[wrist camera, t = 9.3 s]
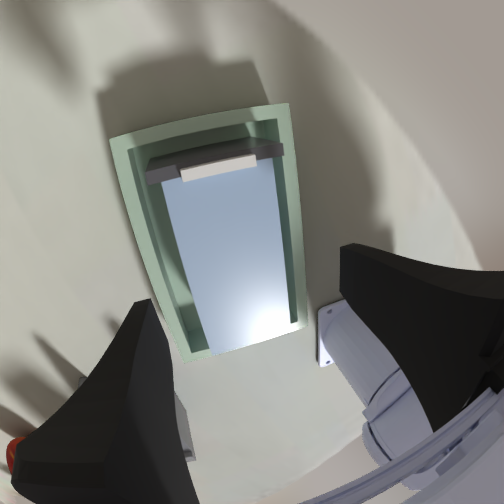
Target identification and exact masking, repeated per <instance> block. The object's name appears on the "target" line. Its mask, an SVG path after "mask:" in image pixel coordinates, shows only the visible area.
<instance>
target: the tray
mask: <svg viewBox="0 0 504 504" xmlns="http://www.w3.org/2000/svg"><path fill="white" fill-rule="evenodd" d="M245 137H256V138H262V139H267V140H271V141H276V142H281V143H283V147H284V156H279V157H274V158H272V160H273V167H274V175H275V183H276V191H277V199H278V208H279V216H280V225H281V234H282V243H283V252H284V262H285V271H286V281H287V292H288V302H289V313H290V324H291V332H292V331H295V330H298V329H301V328H304V327H306V326H308V312H307V291H306V273H305V257H304V243H303V230H302V217H301V206H300V195H299V185H298V175H297V165H296V156H295V148H294V139H293V131H292V123H291V115H290V108H289V103H282V104H272V105H264V106H256V107H248V108H241V109H235V110H229V111H223V112H217V113H211V114H206V115H201V116H196V117H191V118H186V119H182V120H177V121H173V122H169V123H165V124H161V125H157V126H153V127H149V128H145V129H141V130H138V131H134V132H131V133H127V134H124V135H121V136H117V137H114V138H111V139H109V142H110V146H111V151H112V155H113V159H114V163H115V167H116V171H117V175H118V179H119V183H120V187H121V190H122V194H123V198H124V201H125V205H126V208H127V211H128V215H129V218H130V221H131V225H132V228H133V231H134V234H135V237H136V241H137V244H138V247H139V250H140V253H141V256H142V259H143V262H144V264H145V267H146V270H147V273H148V276H149V278H150V281H151V284H152V287H153V289H154V292H155V295H156V297H157V300H158V302H159V305H160V308H161V310H162V313H163V315H164V318H165V320H166V322H167V325H168V327H169V330H170V332H171V334H172V337H173V339H174V341H175V344H176V346H177V348H178V351H179V353H180V355H181V357H182V360H183V362H184V363H187V362H191V361H195V360H199V359H203V358H207V357H210V356H212V354H211V351H210V348H209V345H208V342H207V339H206V336H205V333H204V330H203V327H202V324H201V321H200V318H199V315H198V312H197V309H196V306H195V303H194V299H193V296H192V293H191V290H190V286H189V283H188V280H187V277H186V273H185V270H184V266H183V263H182V259H181V256H180V252H179V249H178V245H177V242H176V238H175V234H174V231H173V227H172V223H171V219H170V216H169V212H168V208H167V204H166V200H165V196H164V192H163V188H162V183H161V182H160V183H156V184H152V185H149V186H148V185H147V180H146V176H145V170H146V168H147V165H148V163H149V160H150V158H154V157H157V156H161V155H165V154H169V153H173V152H177V151H181V150H186V149H190V148H194V147H199V146H204V145H208V144H213V143H218V142H223V141H228V140H234V139H239V138H245ZM288 333H289V332H288ZM285 334H286V333H285ZM282 335H283V334H282ZM279 336H280V335H279ZM276 337H277V336H276ZM273 338H274V337H273ZM270 339H271V338H270ZM267 340H268V339H267ZM264 341H265V340H264ZM261 342H262V341H261ZM257 343H258V342H257ZM254 344H255V343H254ZM251 345H252V344H251ZM248 346H249V345H248ZM244 347H245V346H244ZM241 348H242V347H241ZM238 349H239V348H238ZM234 350H235V349H234ZM231 351H232V350H231ZM227 352H228V351H227ZM224 353H225V352H224ZM220 354H221V353H220ZM217 355H218V354H217ZM213 356H214V355H213Z"/></svg>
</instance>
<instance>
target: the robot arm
mask: <svg viewBox="0 0 504 504" xmlns="http://www.w3.org/2000/svg"><path fill="white" fill-rule="evenodd" d="M340 292H341V294H342V295H343V297H344V298H345V299H344V300H341V301H339V302H336V303H333V304H330V305H328V306H325V307H322V308H321V309H320V310H319V311H318V365H319V366H320V367H324V366H327V365H329V364H332V363H334V362H335V364H336V365H337V367H338V368H339V370H340V371H341V372H342V374H343V375H344V377H345V378H346V380H347V381H348V382H349V384H350V385H351V387H352V388H353V390H354V391H355V392H356V394H357V395H358V397H359V398H360V400H361V401H362V402H363V404H364V405H365V407H366V409H365V410H364V411H363V412H362V413H363V415H364V416H365V417H366V419H367V420H368V421H367V422H365V423H364V424H363V427H362V431H363V432H362V438H363V442H364V445H365V447H366V449H367V451H368V452H369V454H370V455H371V457H372V458H373V459H374V461H375V462H376V463H377V464H378V465H379V466H380V467H379V468H377V469H376V470H374V471H372V472H370V473H368V474H366V475H364V476H362V477H361V478H358V479H356V480H354V481H352V482H350V483H348V484H346V485H343V486H341V487H339V488H337V489H334V490H332V491H330V492H327V493H325V494H323V495H320V496H318V497H315V498H313V499H310V500H307V501H305V502H302V503H299V504H361V503H363V502H365V501H367V500H369V499H371V498H373V497H375V496H377V495H378V494H380V493H382V492H384V491H386V490H387V489H389V488H391V487H393V486H394V485H396V484H398V483H399V482H401V483H402V484H403V485H404V486H405V487H408V488H409V489H410V490H421V491H419V492H418V493H416V494H415V495H413V496H412V497H410V498H409V499H407V500H405V501H404V502H402V503H401V504H504V271H475V270H465V269H456V268H449V267H444V266H438V265H433V264H429V263H425V262H421V261H417V260H413V259H410V258H406V257H402V256H399V255H396V254H392V253H389V252H386V251H382V250H379V249H376V248H372V247H369V246H365V245H361V244H355V243H352V244H349V245H345V246H342V247H340ZM328 310H329V311H328ZM11 484H12V486H13V487H14V489H15V490H16V491H17V492H18V493H19V494H21V495H22V496H24V497H25V498H27V499H28V500H30V501H32V502H34V503H36V504H200V503H199V500H198V498H197V495H196V492H195V489H194V486H193V483H192V480H191V476H190V473H189V470H188V466H187V463H186V459H185V455H184V452H183V448H182V444H181V439H180V435H179V430H178V425H177V418H176V409H175V396H174V382H173V367H172V360H171V354H170V349H169V343H168V340H167V337H166V335H165V333H164V330H163V328H162V326H161V323H160V321H159V318H158V316H157V313H156V311H155V308H154V306H153V303H152V301H151V298H150V299H146V300H142V301H138V302H134V304H133V306H132V307H131V309H130V311H129V313H128V314H127V316H126V318H125V320H124V321H123V323H122V325H121V327H120V329H119V330H118V332H117V334H116V335H115V337H114V339H113V341H112V342H111V344H110V345H109V347H108V348H107V350H106V351H105V353H104V355H103V356H102V358H101V359H100V361H99V362H98V364H97V365H96V367H95V368H94V369H93V371H92V372H91V373H90V375H89V376H88V377H87V379H86V380H85V381H84V382H83V384H82V385H81V386H80V387H79V388H78V389H77V390H76V392H75V393H74V394H73V395H72V396H71V397H70V398H69V399H68V400H67V402H66V403H65V404H64V405H63V406H62V407H61V408H60V409H59V410H58V411H57V412H56V413H55V414H54V415H52V416H51V417H50V418H49V419H48V420H47V421H46V422H45V423H44V424H42V425H41V426H40V427H39V428H38V429H36V430H35V431H34V432H32V433H31V434H30V435H28V436H27V437H26V438H24V439H23V440H22V441H20V442H19V443H18V444H16V449H15V455H14V462H13V469H12V478H11Z"/></svg>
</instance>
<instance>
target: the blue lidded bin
mask: <svg viewBox="0 0 504 504" xmlns="http://www.w3.org/2000/svg"><path fill="white" fill-rule="evenodd" d="M279 156H284V147H283V143H281V142H276V141H271V140H267V139H262V138H256V137H245V138H239V139H234V140H228V141H223V142H218V143H213V144H208V145H204V146H199V147H194V148H190V149H186V150H181V151H177V152H173V153H169V154H165V155H161V156H157V157H154V158H150V160H149V163H148V165H147V168H146V170H145V176H146V180H147V185H148V186H149V185H152V184H156V183H160V182H161V183H162V188H163V192H164V196H165V200H166V204H167V208H168V212H169V216H170V219H171V223H172V227H173V231H174V234H175V238H176V242H177V245H178V249H179V252H180V256H181V259H182V263H183V266H184V270H185V273H186V277H187V280H188V283H189V286H190V290H191V293H192V296H193V299H194V303H195V306H196V309H197V312H198V315H199V318H200V321H201V324H202V327H203V330H204V333H205V336H206V339H207V342H208V345H209V348H210V351H211V354H212V356H213V355H217V354H220V353H224V352H227V351H231V350H234V349H238V348H241V347H244V346H248V345H251V344H254V343H257V342H261V341H264V340H267V339H270V338H273V337H276V336H279V335H282V334H285V333H288V332H291V324H290V313H289V302H288V292H287V281H286V271H285V262H284V252H283V243H282V234H281V225H280V216H279V208H278V199H277V191H276V183H275V175H274V167H273V160H272V158H274V157H279Z"/></svg>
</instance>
